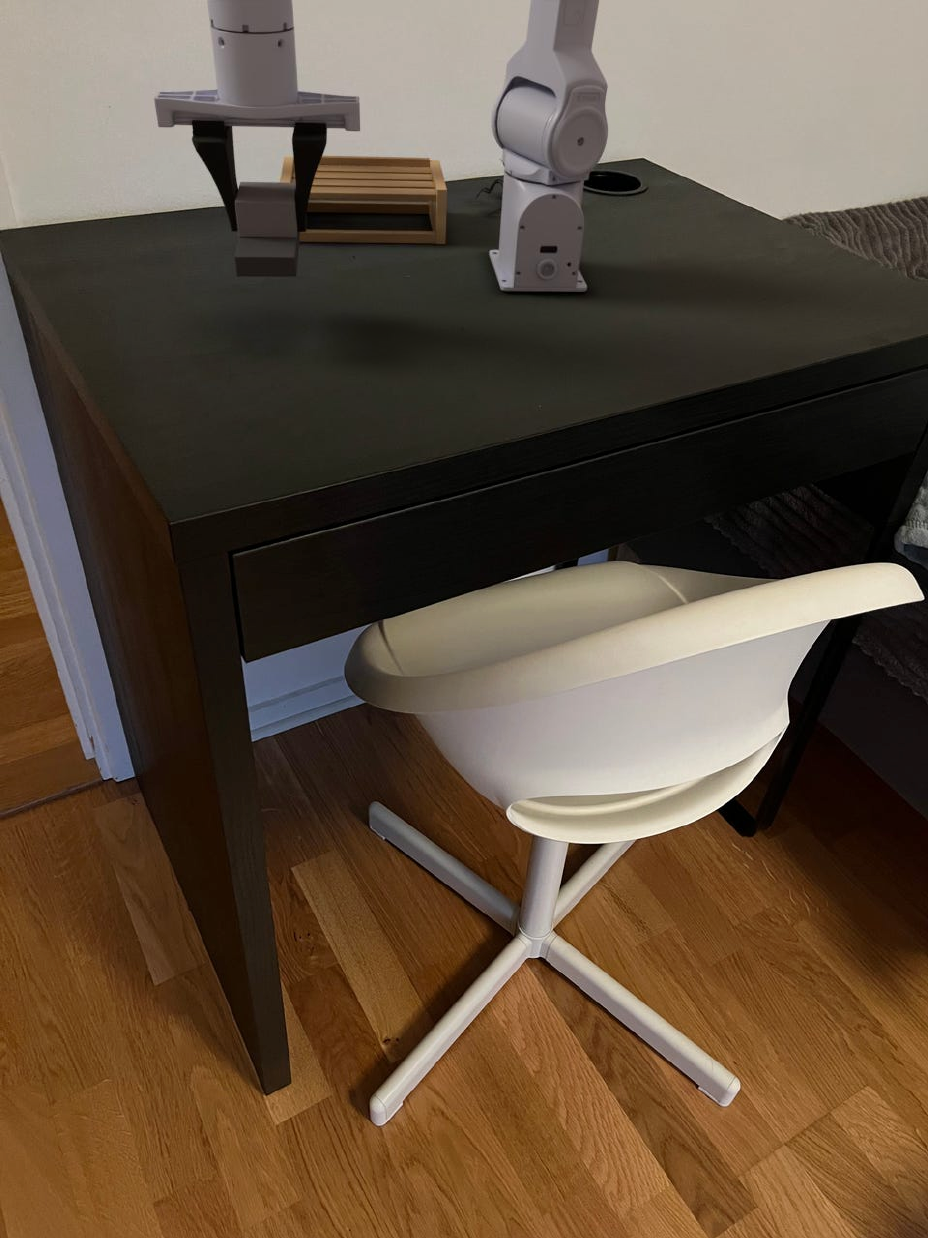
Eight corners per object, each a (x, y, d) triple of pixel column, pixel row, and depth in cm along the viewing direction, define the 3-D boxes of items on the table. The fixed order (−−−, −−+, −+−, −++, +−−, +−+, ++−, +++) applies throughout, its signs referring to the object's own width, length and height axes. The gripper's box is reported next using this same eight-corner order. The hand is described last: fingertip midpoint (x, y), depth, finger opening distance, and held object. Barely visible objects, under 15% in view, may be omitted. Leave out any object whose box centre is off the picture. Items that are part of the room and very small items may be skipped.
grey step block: (296, 277, 71) (292, 220, 68) (236, 276, 70) (229, 219, 68) (300, 235, 78) (296, 182, 75) (245, 234, 77) (239, 181, 74)
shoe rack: (445, 244, 95) (447, 187, 91) (283, 242, 93) (279, 184, 90) (437, 211, 102) (439, 157, 99) (287, 209, 101) (283, 154, 97)
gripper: (356, 19, 69) (361, 211, 78) (153, 12, 68) (181, 209, 77) (358, 37, 64) (363, 241, 73) (137, 30, 63) (170, 239, 71)
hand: (270, 227), depth 74 cm, fingers closed on grey step block, 4 cm apart
